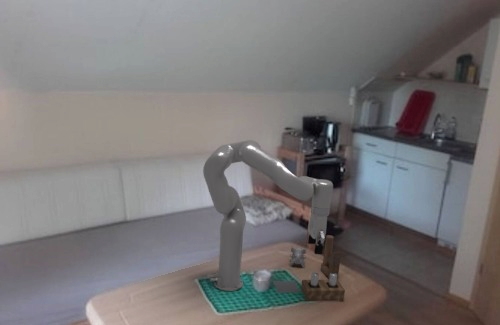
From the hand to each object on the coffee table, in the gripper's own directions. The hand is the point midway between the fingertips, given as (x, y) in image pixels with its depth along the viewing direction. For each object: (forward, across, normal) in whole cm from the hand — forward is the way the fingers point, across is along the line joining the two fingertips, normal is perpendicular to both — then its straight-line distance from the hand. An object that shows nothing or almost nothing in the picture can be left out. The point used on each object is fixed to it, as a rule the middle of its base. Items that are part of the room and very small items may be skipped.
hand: (314, 248), depth 184 cm
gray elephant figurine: (+21, -28, +1) cm, 36 cm away
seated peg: (+21, +1, +10) cm, 23 cm away
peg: (+21, +2, +2) cm, 21 cm away
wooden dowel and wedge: (+21, -17, +14) cm, 30 cm away
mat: (+21, -5, -9) cm, 23 cm away
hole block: (+21, +1, +6) cm, 22 cm away
